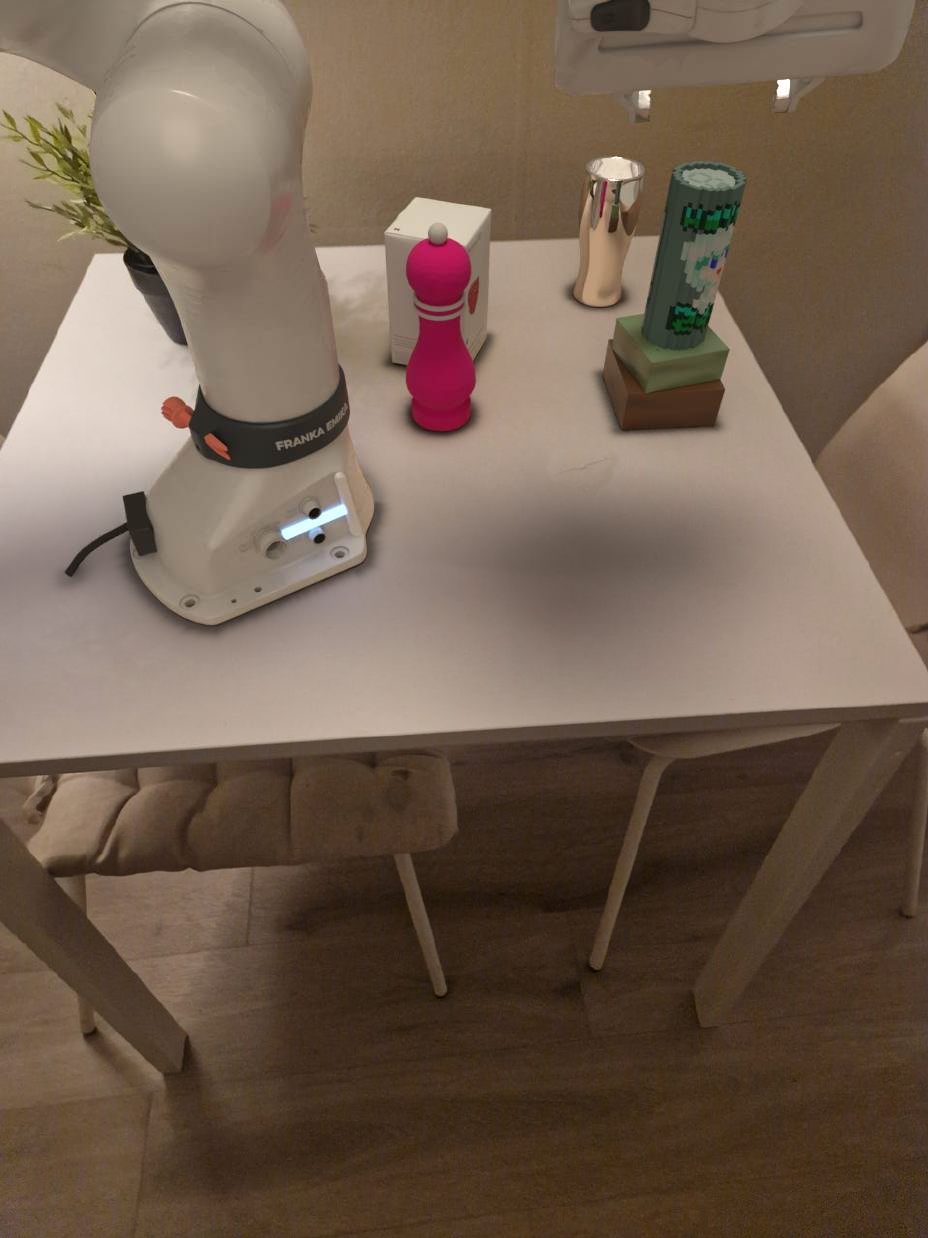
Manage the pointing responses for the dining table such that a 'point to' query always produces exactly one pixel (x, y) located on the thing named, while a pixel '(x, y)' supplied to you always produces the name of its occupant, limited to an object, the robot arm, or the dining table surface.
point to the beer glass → (606, 227)
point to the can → (691, 252)
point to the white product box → (400, 238)
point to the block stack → (663, 379)
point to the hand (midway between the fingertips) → (710, 107)
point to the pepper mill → (439, 333)
